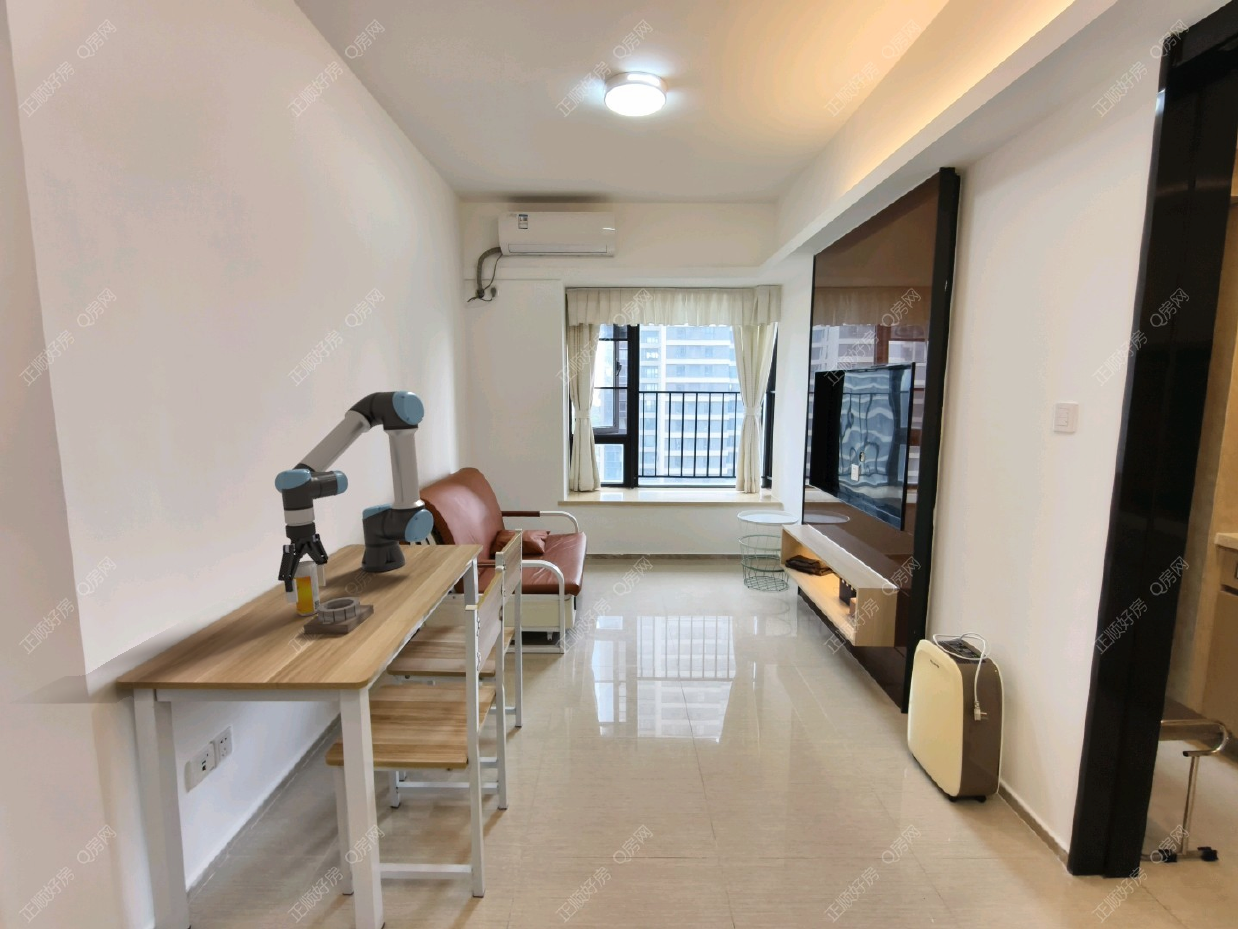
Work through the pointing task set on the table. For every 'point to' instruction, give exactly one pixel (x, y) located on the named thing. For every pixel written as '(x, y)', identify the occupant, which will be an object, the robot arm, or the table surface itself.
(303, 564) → the beer can
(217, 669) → the table surface
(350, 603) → the cup holder
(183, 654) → the table surface
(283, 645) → the table surface
